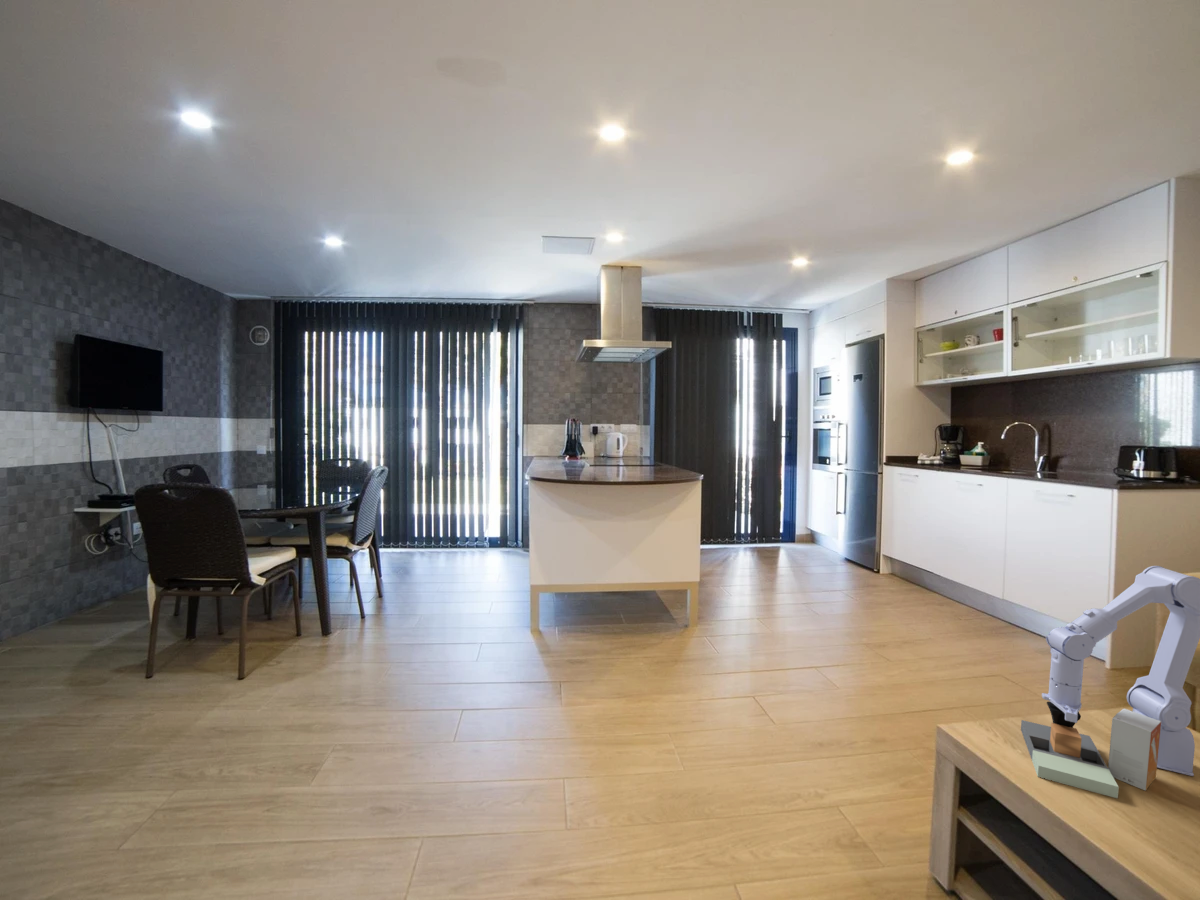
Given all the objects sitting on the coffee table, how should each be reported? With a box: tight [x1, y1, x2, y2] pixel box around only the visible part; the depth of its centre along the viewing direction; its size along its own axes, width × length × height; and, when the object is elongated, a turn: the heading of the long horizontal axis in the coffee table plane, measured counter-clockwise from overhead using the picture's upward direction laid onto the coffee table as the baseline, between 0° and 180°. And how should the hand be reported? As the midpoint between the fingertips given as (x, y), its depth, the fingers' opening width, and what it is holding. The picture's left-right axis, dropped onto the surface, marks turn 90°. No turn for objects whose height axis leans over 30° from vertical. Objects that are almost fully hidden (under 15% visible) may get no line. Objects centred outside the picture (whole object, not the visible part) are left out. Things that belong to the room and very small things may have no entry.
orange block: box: [1050, 722, 1082, 758], centre depth 124 cm, size 4×4×4 cm
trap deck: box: [1020, 719, 1120, 799], centre depth 124 cm, size 13×21×2 cm, turn 150°
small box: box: [1107, 708, 1161, 791], centre depth 119 cm, size 8×6×13 cm
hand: (1061, 737), depth 128 cm, fingers closed
